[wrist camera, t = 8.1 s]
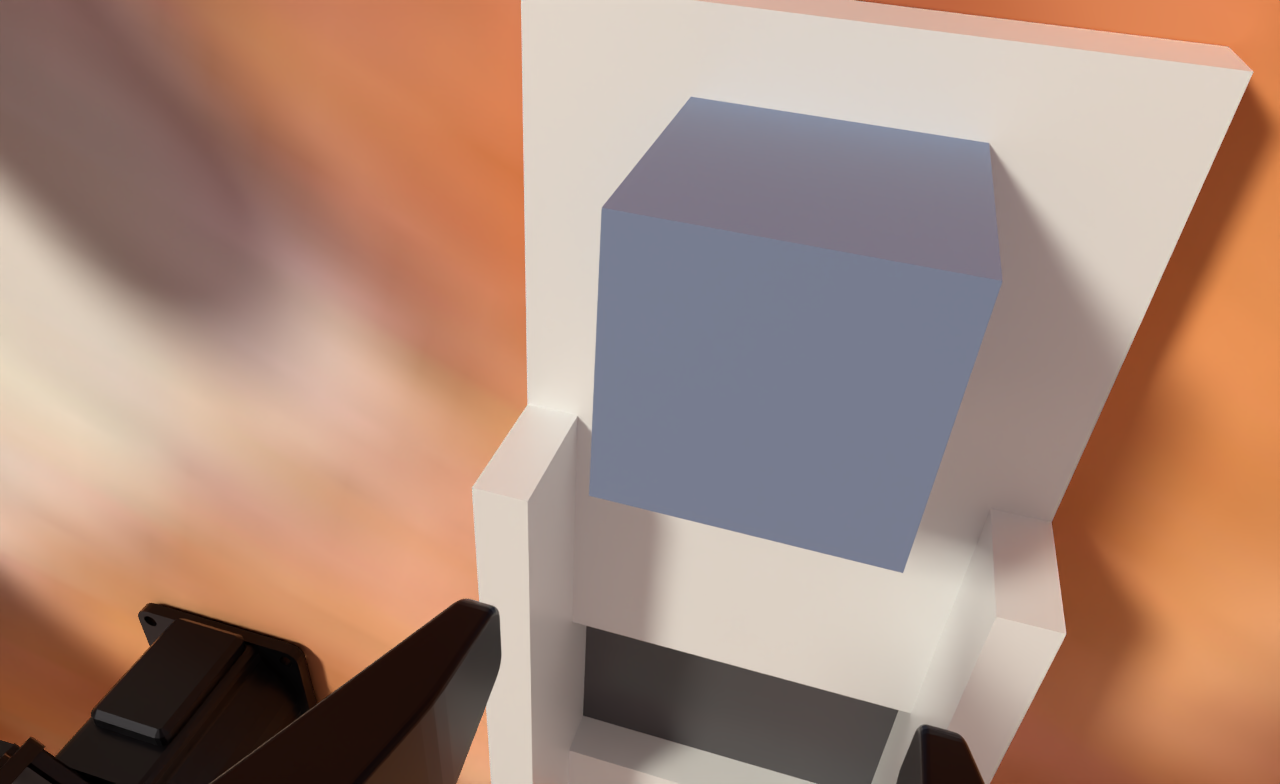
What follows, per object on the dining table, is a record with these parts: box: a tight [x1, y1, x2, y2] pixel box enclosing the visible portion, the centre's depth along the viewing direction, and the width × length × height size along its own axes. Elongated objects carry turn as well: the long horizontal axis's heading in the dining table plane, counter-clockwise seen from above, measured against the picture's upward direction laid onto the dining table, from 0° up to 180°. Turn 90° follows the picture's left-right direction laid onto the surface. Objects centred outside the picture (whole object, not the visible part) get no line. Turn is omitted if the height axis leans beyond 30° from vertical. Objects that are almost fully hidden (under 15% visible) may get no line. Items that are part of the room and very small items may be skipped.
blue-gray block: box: [589, 97, 1003, 573], centre depth 15 cm, size 5×5×5 cm
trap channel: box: [472, 0, 1253, 784], centre depth 21 cm, size 24×11×4 cm, turn 176°
